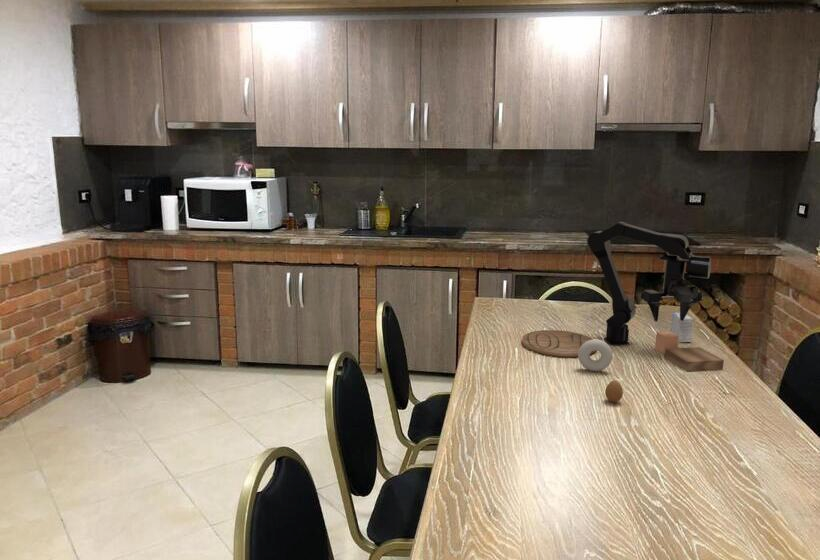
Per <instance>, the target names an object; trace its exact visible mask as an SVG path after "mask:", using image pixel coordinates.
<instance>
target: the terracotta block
mask: <svg viewBox="0 0 820 560" xmlns="http://www.w3.org/2000/svg"><path fill="white" fill-rule="evenodd" d="M678 341H679V336H678V335H676V334H674V333H672V332H671V331H670V330H669V331H656V334H655V343H654V344H655V345H654V350H656V351H657V352H659V353H661V354H662V355H665V351H666V349H674V348H679V342H678Z"/></svg>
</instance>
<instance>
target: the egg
mask: <svg viewBox="0 0 820 560" xmlns="http://www.w3.org/2000/svg"><path fill="white" fill-rule="evenodd" d="M604 393H605V394H604V395H605V398H606V399H607V401H609V402H610V403H618V402H619V401H621V399H622V398H623V395H624V394H623V393H624V390H623V387H622V384H621V383H620V381H618V380H611V381H609V383H608V384H607V386H606V387H605V391H604Z"/></svg>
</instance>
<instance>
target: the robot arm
mask: <svg viewBox="0 0 820 560" xmlns="http://www.w3.org/2000/svg"><path fill="white" fill-rule="evenodd" d="M618 236H624V237H627V238H630V239H633V240H637V241H641V242H643V243H644V242H645V243H646V244H647V243H648V244H650V245H654V246H656V247H658V248H659V249H661V250H662V251H664V254H663V255H661V256H660V257H659V260H662V261H665V268H664V275H661V280H663V285H662V286H663V287H660V292H659V291H656V290H655V289H644V290H643V291H642V292H641V293H640V299H642V300H643V301H644V302H646V304H647V305H648V307H649V309H650V311H651V314H652V318H653V321H654V322H656V323H657V322H658V319H659V312H660V306H661V305H662V302H661V300H662V299H675V301H676V302H677V303H679V304H680V306H679V313H680V320H681V321H683V320H684V318H685V316H686V315H688V313H689V311H690V309H691V308H692V306H694V305H696V304H698V303H699V302H702V301H703V293H702V292H701V291H700V290H699V287H698V286H697V285H691V286H689V285H687V280H686V278H684V277H685V274H687V275H688V276H689V277H690V278H691V277H692V278H698V279H699V278H700V279H710V275H711V270H712V264H711V263H712V262H711V259H712V258H711V256H700V255H695V254H694V253H693V250H692V249H691V247H690V246H689V239H688V238H687V237H686V236H685V235H682V234H676V233H675V234H674V233H663V232H662V233H661V232H659V231H658V232H657V231H655V230H651V229H648V228H644V227H640V226H636V225H633V224H629V223H627V222H625V221H619V222H617V223H615V224H614V225H613V226H611V227H609V228H607V229H605V230H597V231H595V232H593V233H591V234H589V236H588V237H587V241H586V243H587V246H588V248H589V249H590V251H591V253H592V254H593V256H594V257H596V259H597V261H598V264H599V265H600V269H601V271H602V274H603V277H604V280H605V282H606V286H607V289H608V291H609V293H610V296H611V299H612V300H611V302H612V303H611V304H612V305H611V306H612V307H611V308H612V313H613V314H612V315H611V316H610V317H608V318H607V319H606V320H605V322H606V330H605V332H606V333H605V337H603V341H604V342H605V341H606V343H607V344H608V343H609V345H612V346H617V345H619V346H620V345H630V342H629V336H630V335H629V334H630V329H629V325H628V323H629V322H630V321H631V320H632V319H633V318H635V315H636V313H637V311H636V309H637V308H638V307H637V305H635V301H634V297H633V296H632V297H629V296H627V294H626V293H625V290H624V287H623V285H622V282H621V279H620V277H619V274H618V271H617V268H616V265H615V263H614V260H613V257H612V245H611V240H613V239H615V238H617V237H618ZM685 266H686V267H685Z"/></svg>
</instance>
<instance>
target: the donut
mask: <svg viewBox="0 0 820 560" xmlns="http://www.w3.org/2000/svg"><path fill="white" fill-rule="evenodd" d="M592 339H593V340H589V341H586V342H585V343H584V344H582V346H581V347H580V349H579V352H578V358H577V359H578V361H579V363H580V365H581V366H582V367H583V368H584V369H587V370H588V371H591V372H601V371H604V370H605V369H608V367H609V366H610V365H611V363H612V362H613V350H612V348H611V346H609V345H610V344H608V342H605V340H601V339H596V338H595V339H594V338H592ZM592 351H597V352H599V353H600V357H599V358H598V359H595V360H594V359H592V358H591V356H590V353H591V352H592Z"/></svg>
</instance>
